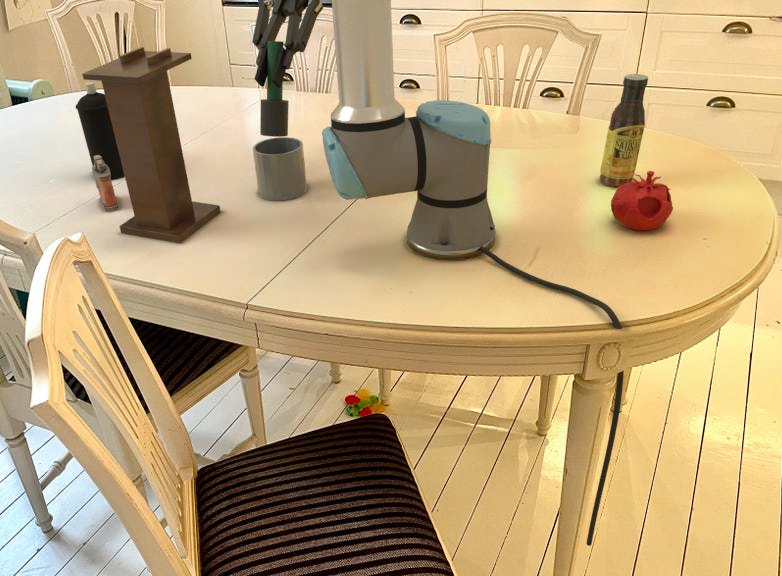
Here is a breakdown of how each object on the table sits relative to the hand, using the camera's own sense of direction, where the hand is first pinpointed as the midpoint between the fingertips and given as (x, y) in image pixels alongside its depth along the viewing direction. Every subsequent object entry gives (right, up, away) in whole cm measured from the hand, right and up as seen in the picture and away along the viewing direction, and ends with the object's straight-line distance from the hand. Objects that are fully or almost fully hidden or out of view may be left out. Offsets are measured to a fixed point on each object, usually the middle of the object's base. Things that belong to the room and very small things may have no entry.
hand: (267, 83), depth 140 cm
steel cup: (+2, -17, +14) cm, 22 cm away
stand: (-19, -25, +5) cm, 32 cm away
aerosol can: (-38, -10, +29) cm, 49 cm away
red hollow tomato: (+66, -28, -10) cm, 72 cm away
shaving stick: (+2, +1, +5) cm, 6 cm away
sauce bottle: (+68, -18, +4) cm, 70 cm away
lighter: (-34, -20, +15) cm, 42 cm away
